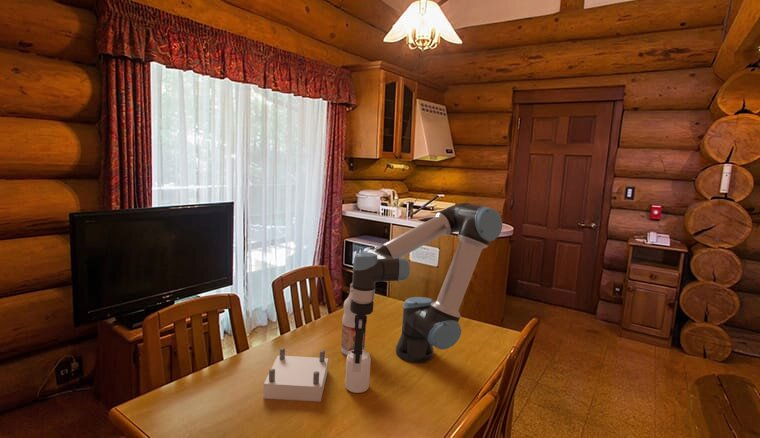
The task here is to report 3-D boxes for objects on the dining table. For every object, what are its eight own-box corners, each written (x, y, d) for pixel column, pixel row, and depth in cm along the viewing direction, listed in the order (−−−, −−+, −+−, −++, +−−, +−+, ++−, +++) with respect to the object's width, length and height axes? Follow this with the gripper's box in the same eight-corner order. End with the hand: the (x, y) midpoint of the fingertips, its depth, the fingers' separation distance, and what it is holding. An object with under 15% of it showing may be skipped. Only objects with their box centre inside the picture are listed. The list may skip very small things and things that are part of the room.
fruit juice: (347, 343, 165) (350, 278, 161) (367, 348, 162) (372, 282, 158) (336, 353, 157) (340, 285, 152) (358, 359, 153) (362, 289, 149)
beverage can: (365, 396, 130) (368, 362, 128) (341, 391, 131) (343, 358, 130) (371, 383, 138) (373, 350, 136) (348, 378, 139) (350, 346, 137)
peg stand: (327, 371, 143) (328, 349, 142) (320, 401, 126) (321, 376, 124) (277, 368, 143) (278, 346, 142) (263, 398, 125) (264, 373, 124)
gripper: (353, 287, 142) (348, 342, 145) (348, 313, 117) (343, 380, 121) (374, 288, 142) (369, 344, 145) (373, 315, 118) (367, 382, 121)
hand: (357, 360), depth 133 cm, fingers open, 13 cm apart
